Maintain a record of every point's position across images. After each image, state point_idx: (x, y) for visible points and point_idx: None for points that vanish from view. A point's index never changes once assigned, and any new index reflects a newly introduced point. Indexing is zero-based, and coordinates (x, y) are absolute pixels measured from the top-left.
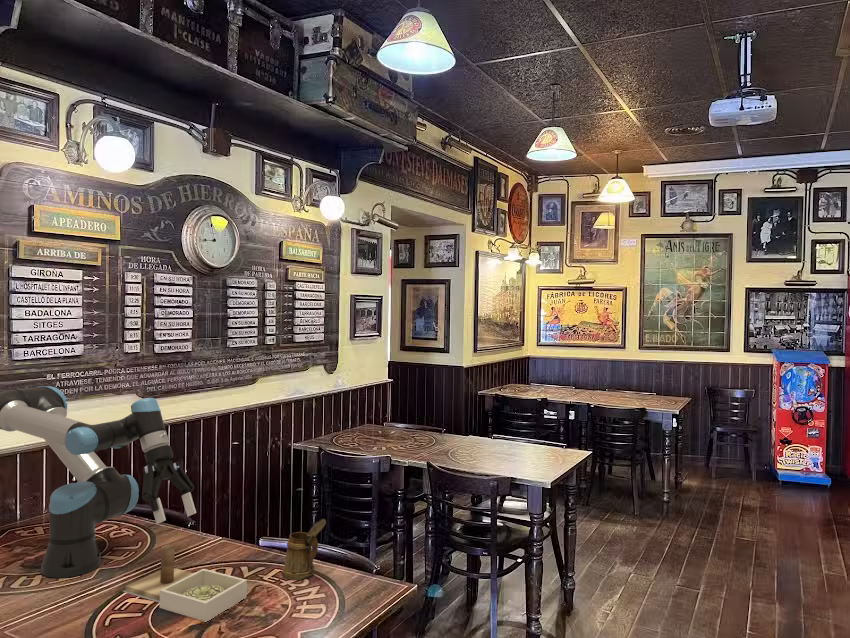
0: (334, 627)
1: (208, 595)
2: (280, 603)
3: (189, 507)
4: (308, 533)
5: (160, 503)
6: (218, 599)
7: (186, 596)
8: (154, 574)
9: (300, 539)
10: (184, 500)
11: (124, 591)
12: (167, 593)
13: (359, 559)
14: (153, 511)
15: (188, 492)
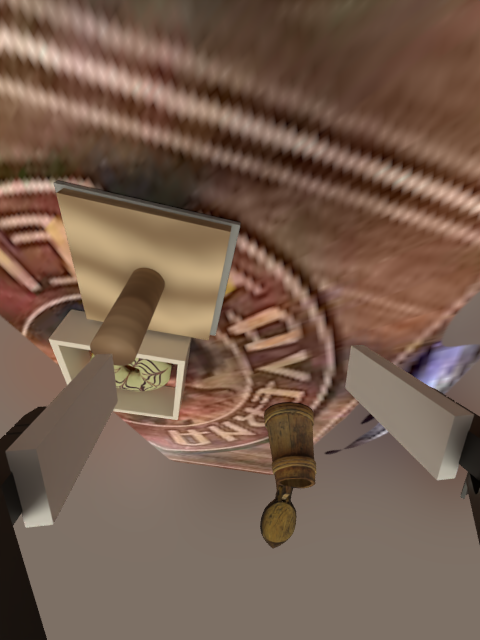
0: (167, 452)
1: (118, 386)
2: (191, 418)
3: (371, 390)
4: (264, 510)
5: (68, 478)
6: None
7: (70, 381)
8: (164, 227)
9: (279, 483)
10: (412, 402)
11: (58, 189)
12: (55, 352)
13: (348, 448)
14: (40, 413)
15: (435, 478)
